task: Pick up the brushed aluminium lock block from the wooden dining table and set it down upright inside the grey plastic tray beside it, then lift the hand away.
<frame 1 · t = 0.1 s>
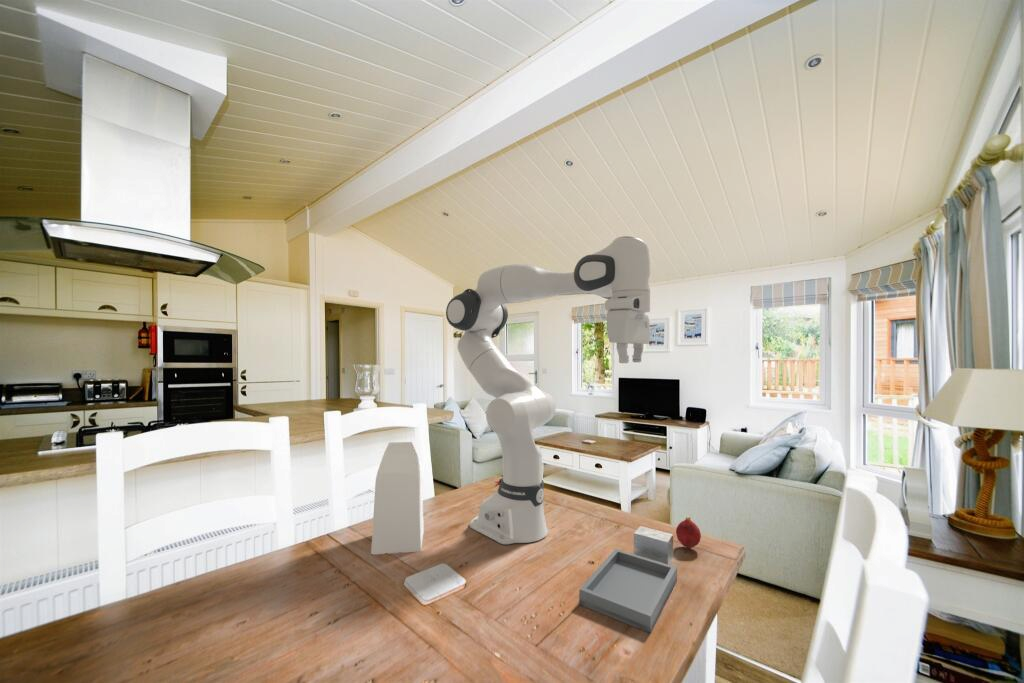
hand: (630, 362, 95), 48 cm above the table, tool pointing down, fingers open, 8 cm apart
onion: (688, 549, 102), on the table
milk: (399, 542, 105), on the table
tray: (630, 592, 84), on the table
lock block: (653, 558, 98), on the table
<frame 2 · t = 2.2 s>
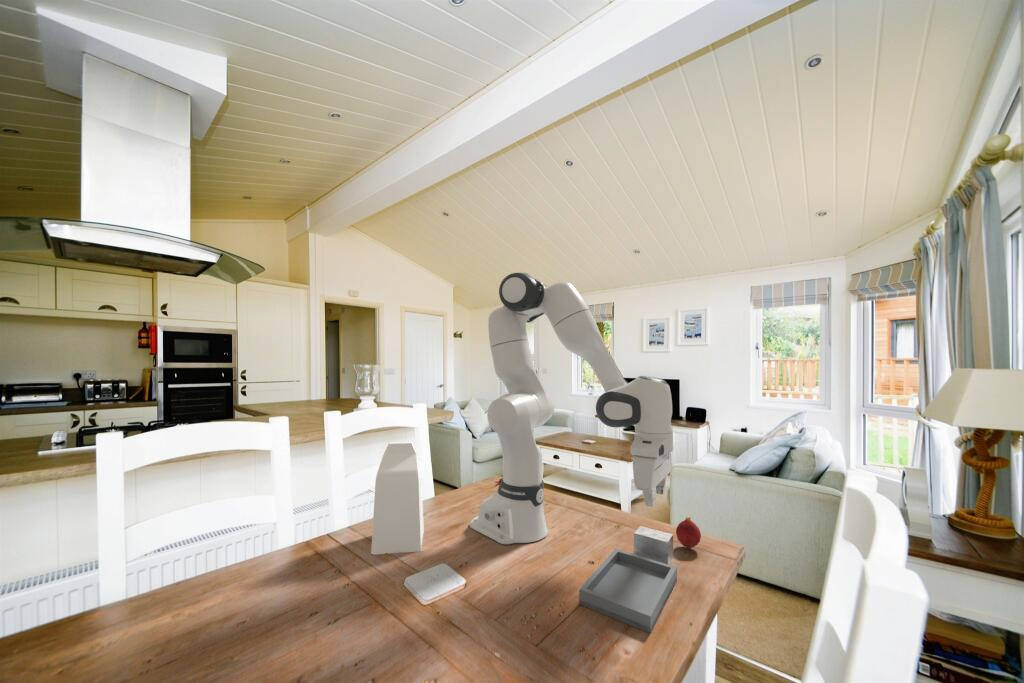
hand: (655, 499, 98), 14 cm above the table, tool pointing down, fingers open, 8 cm apart
nothing on the table moved.
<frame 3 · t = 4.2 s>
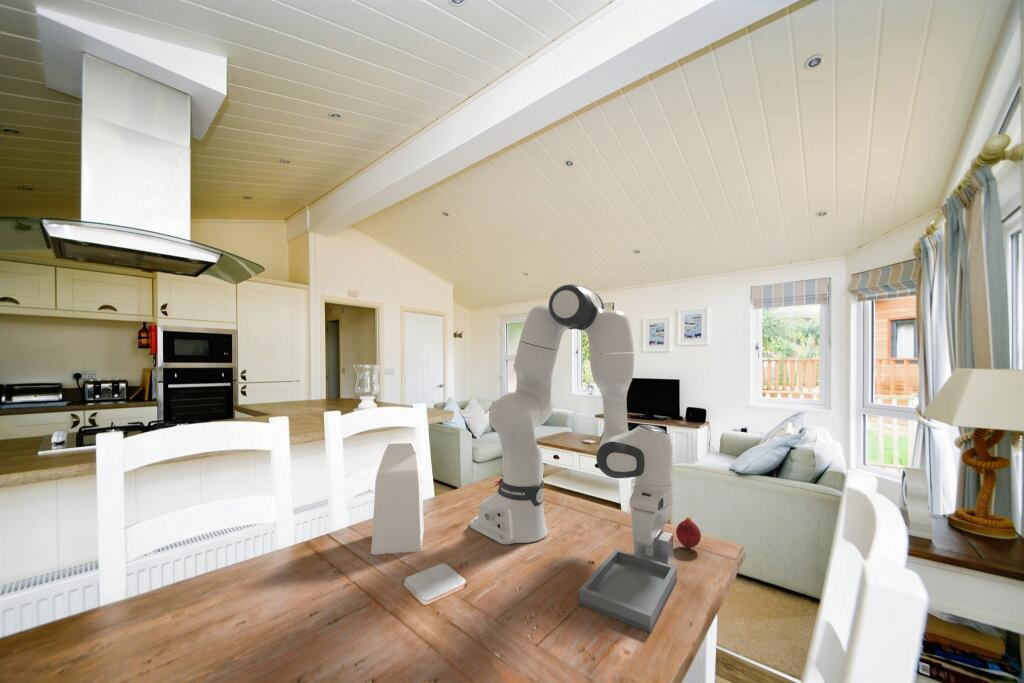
hand: (653, 549, 98), 2 cm above the table, tool pointing down, fingers closed on lock block, 5 cm apart
lock block: (653, 557, 98), on the table, touching gripper
everything else where it was.
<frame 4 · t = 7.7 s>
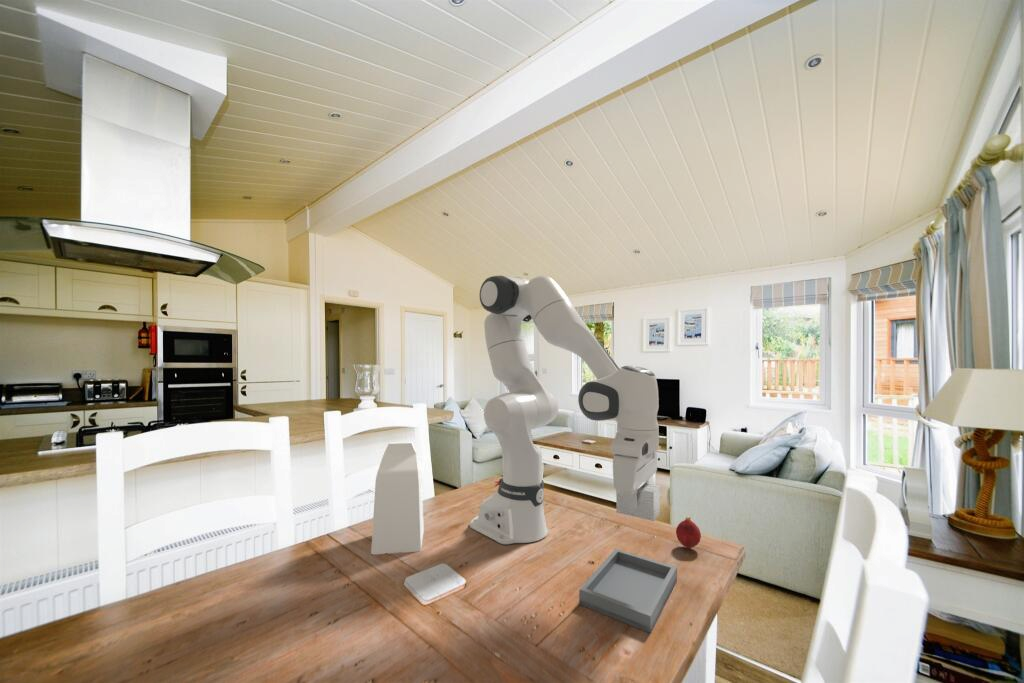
hand: (637, 503, 88), 17 cm above the table, tool pointing down, fingers closed on lock block, 5 cm apart
lock block: (638, 512, 88), point 15 cm above the table, touching gripper
everything else where it was.
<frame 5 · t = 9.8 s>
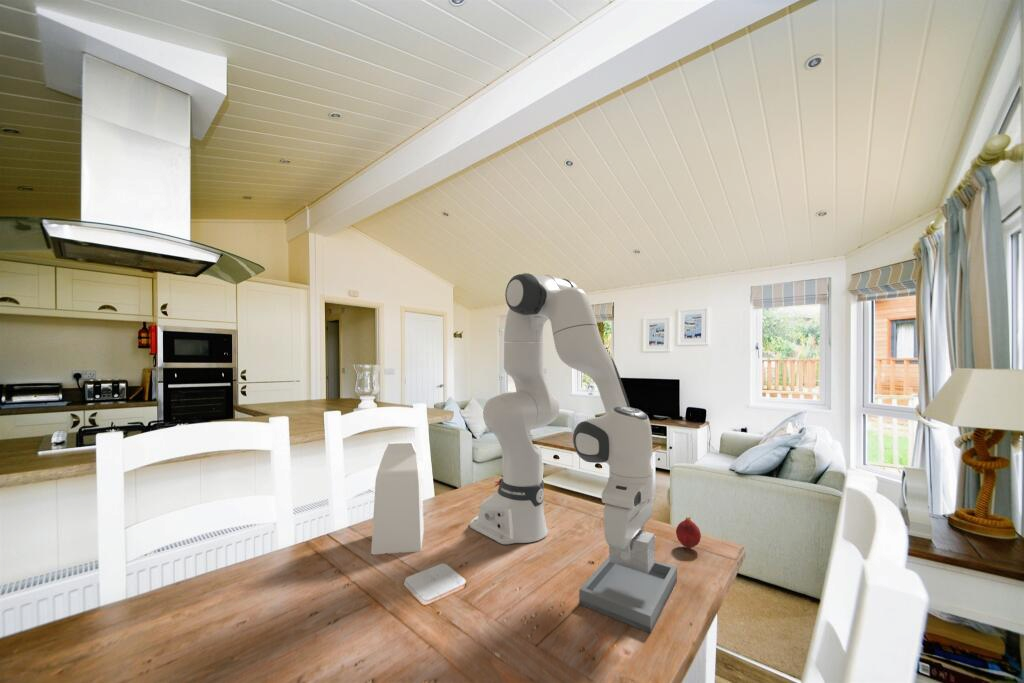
hand: (631, 552, 84), 8 cm above the table, tool pointing down, fingers closed on lock block, 5 cm apart
lock block: (632, 562, 84), point 6 cm above the table, touching gripper
everything else where it was.
when the fingers open (5 cm above the table, at t = 11.4 s): lock block drops 1 cm, resting on tray.
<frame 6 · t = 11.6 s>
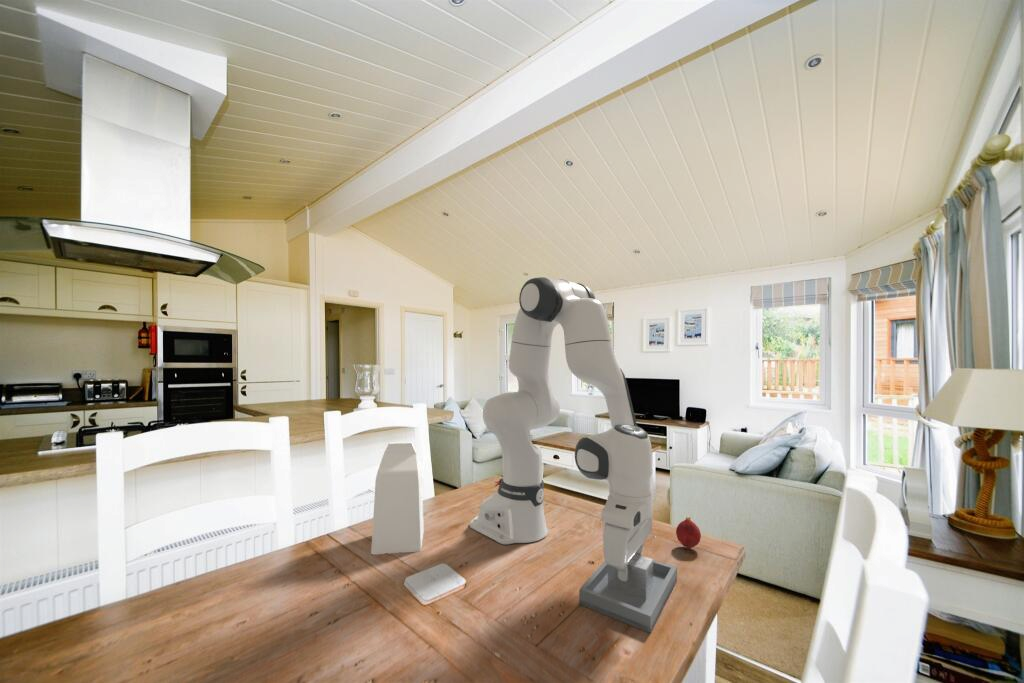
hand: (630, 569, 84), 5 cm above the table, tool pointing down, fingers open, 7 cm apart
lock block: (630, 587, 84), point 1 cm above the table, touching tray
everything else where it was.
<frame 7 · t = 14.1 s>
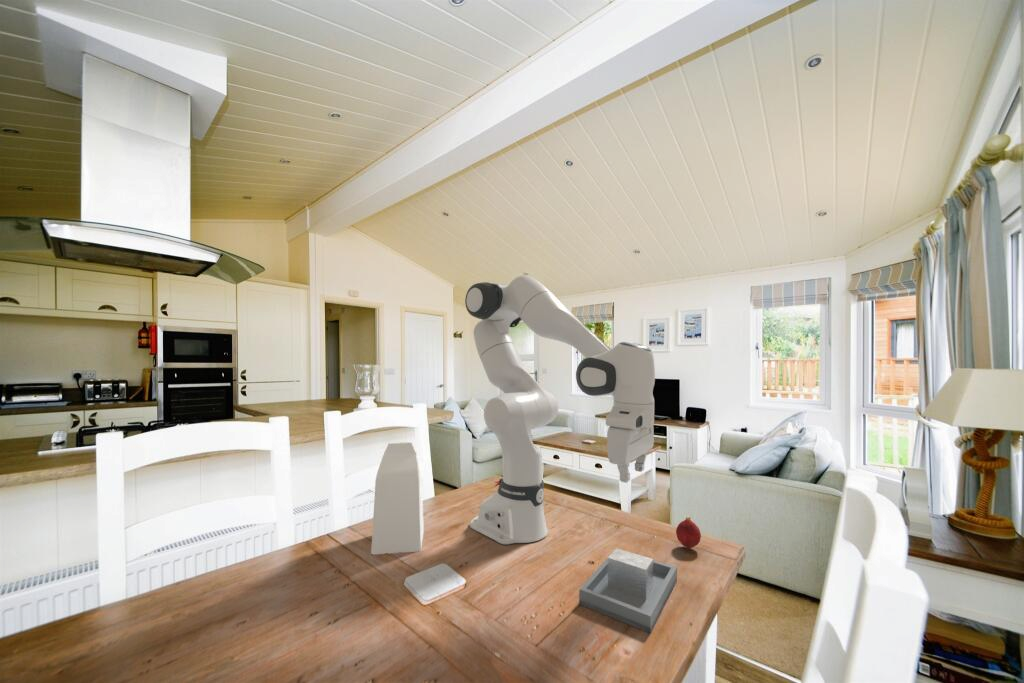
hand: (632, 475, 90), 23 cm above the table, tool pointing down, fingers open, 8 cm apart
nothing on the table moved.
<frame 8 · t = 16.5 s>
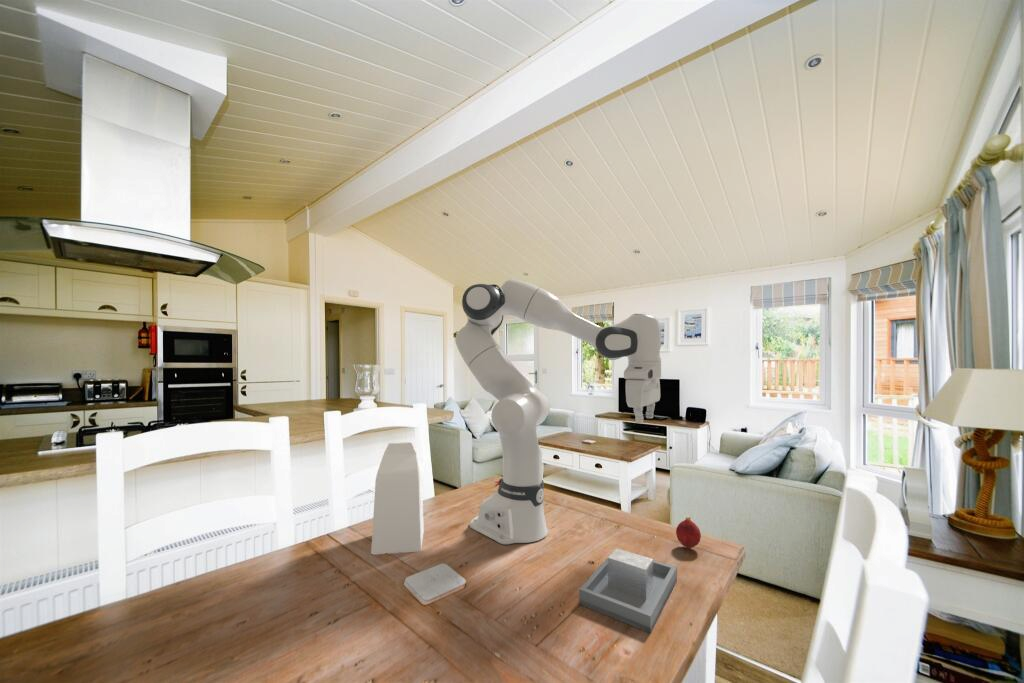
hand: (644, 420, 112), 31 cm above the table, tool pointing down, fingers open, 8 cm apart
nothing on the table moved.
at the end: lock block inside the target area on the tray (0.0 cm from its centre), point 1.0 cm above the tray's base; lock block tilted 0°; the gripper is holding nothing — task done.
